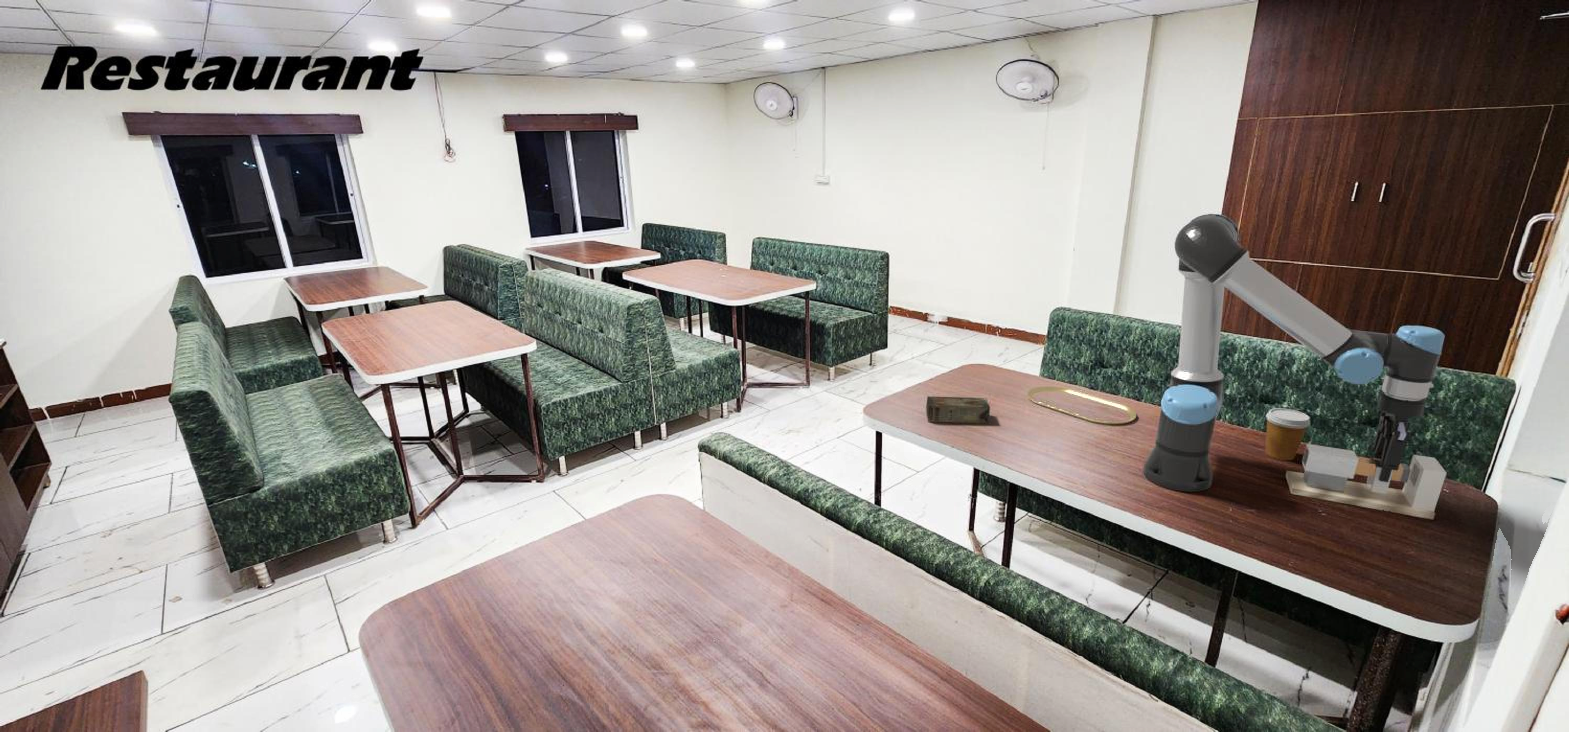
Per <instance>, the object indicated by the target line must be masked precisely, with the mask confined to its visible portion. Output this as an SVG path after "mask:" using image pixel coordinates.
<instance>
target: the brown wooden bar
mask: <svg viewBox="0 0 1569 732" xmlns="http://www.w3.org/2000/svg"><path fill="white" fill-rule="evenodd" d="M1357 458H1358V463H1357V467H1356V470H1355V474H1354V475H1359V476H1364V477H1368V476H1370V477H1374V476H1375V472H1376V469H1377V467H1376V466H1375V464H1380V461H1381V460H1377V459H1373V458H1371V457H1370V458H1369V457H1364V456H1362V457H1361V456H1357ZM1409 467H1410V466H1409V465H1408V464H1407V463H1401V462H1400V465H1399V469H1398V470H1393V473H1392V477H1391V480H1390V481H1395V482H1401V483H1405V482H1407V481H1408V478H1409V474H1410V471H1411V470H1410V468H1409Z"/></svg>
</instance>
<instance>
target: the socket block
mask: <svg viewBox="0 0 1569 732" xmlns="http://www.w3.org/2000/svg"><path fill="white" fill-rule="evenodd" d="M1408 467H1409V468H1410V470H1411V471H1410V474H1409V478H1408V481H1407V482H1404V484H1403V487H1402V489H1401V490H1402V493H1403V494H1404V496H1405V497H1406V499H1407V501H1408V502H1409V504H1410V506H1411V507H1412V508H1416V509H1422V510H1427V511H1433V512H1434V513H1435V509H1436V507H1437V503H1438V500H1439V498H1440V494H1441V491H1442V489H1443V486H1444V482H1445V479H1446V477H1447V472H1446V470H1445V469H1444V468H1443V466H1442V465H1441V464H1440V462H1439V461H1438V460H1437V458H1436V457H1431V456H1424V455H1417V454H1413V455H1412V458H1411V460H1410V464H1409V466H1408Z"/></svg>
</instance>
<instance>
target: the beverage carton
mask: <svg viewBox="0 0 1569 732" xmlns="http://www.w3.org/2000/svg"><path fill="white" fill-rule="evenodd" d="M925 406H926V408H925V410H926V419H927V422H928V423H929V422H930V423H957V424H958V423H959V424H961V423H963V424H990V416H991V415H990V413H991V412H990V411H991V407H990V403H989V401H988V398H987V397H969V396H968V397H967V396H966V397H965V396H964V397H963V396H961V397H960V396H933V395H932V396H929V395H927V397H926V405H925Z"/></svg>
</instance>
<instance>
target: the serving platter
mask: <svg viewBox="0 0 1569 732" xmlns="http://www.w3.org/2000/svg"><path fill="white" fill-rule="evenodd" d="M1040 392H1060V393H1065V394H1069V395H1072V396H1077V397H1079V398H1083V399H1086V400H1089V401H1093V402H1096V403H1100V404H1102V405H1105V406H1109V407H1112V408H1116V409H1119V410H1122V411H1124V412H1126V413H1127V414H1128V415H1129V416H1130V418H1129V419H1128V420H1126V421H1103V420H1096V419H1093V418H1088V417H1085V416H1083V415H1082V416H1081V415H1080V414H1076V413H1074V412H1070V411H1067V410H1064V409H1060V408H1058V407H1055V406H1051V405H1047V404H1045V403H1043V402H1039V401H1037V400H1034V399H1033V398H1032V396H1033V395H1034V394H1037V393H1040ZM1026 396H1027V397H1028V399H1029V400H1030V401H1031V402H1033V403H1035V404H1036V405H1038V406H1041V407H1044V408H1048V409H1050V410H1053V411H1056V412H1059V413H1063V414H1066V415H1069V416H1072V417H1075V418H1079V419H1080V420H1081V419H1082V420H1085V421H1088V422H1091V423H1094V424H1100V425H1115V426H1116V425H1117V426H1118V425H1124V424H1128V423H1131V422H1133V421H1134V420H1135V419H1136V417H1137V413H1136V411H1135V410H1134V409H1132V407H1130V406H1127V405H1125V404H1123V403H1119V402H1115V401H1113V400H1109V399H1105V398H1102V397H1099V396H1095V395H1091V394H1088V393H1085V392H1082V391H1079V390H1075V389H1072V388H1071V389H1070V388H1067V387H1062V386H1061V387H1060V386H1037V387H1034V388H1031V389H1029V390H1028V391H1027V392H1026Z"/></svg>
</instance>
